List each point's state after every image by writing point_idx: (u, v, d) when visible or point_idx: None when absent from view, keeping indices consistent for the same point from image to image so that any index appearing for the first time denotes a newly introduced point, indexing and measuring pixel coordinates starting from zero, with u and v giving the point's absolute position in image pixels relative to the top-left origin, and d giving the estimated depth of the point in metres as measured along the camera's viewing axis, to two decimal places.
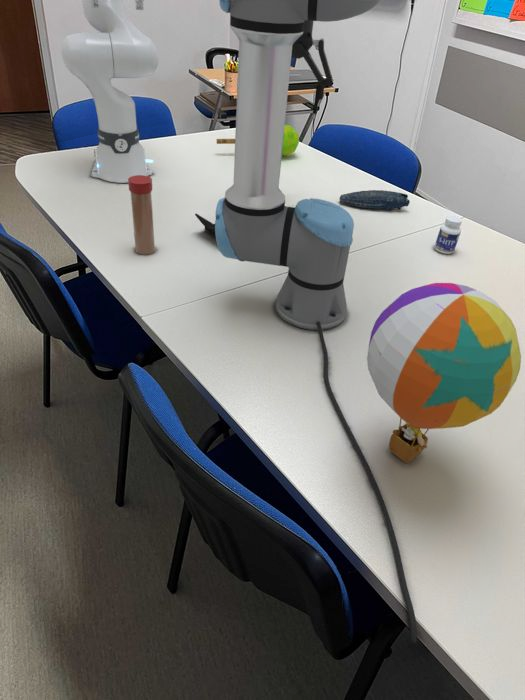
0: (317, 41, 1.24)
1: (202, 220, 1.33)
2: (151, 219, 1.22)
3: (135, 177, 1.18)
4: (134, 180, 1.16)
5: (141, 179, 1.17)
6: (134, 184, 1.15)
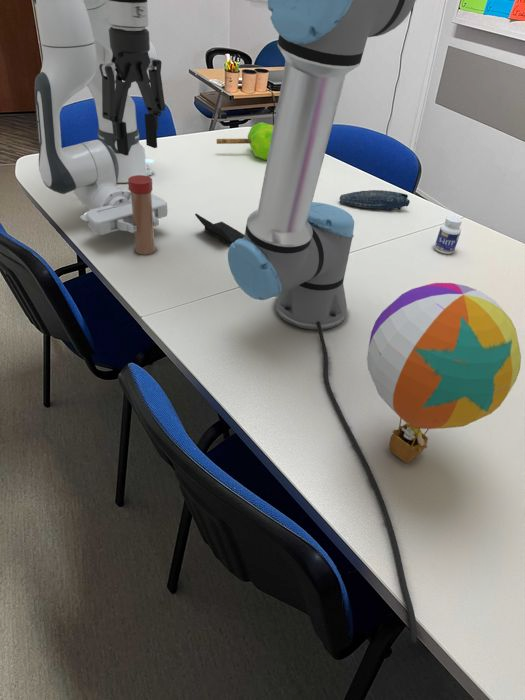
0: None
1: (202, 220, 1.33)
2: (151, 219, 1.22)
3: (135, 177, 1.18)
4: (134, 180, 1.16)
5: (141, 179, 1.17)
6: (134, 184, 1.15)
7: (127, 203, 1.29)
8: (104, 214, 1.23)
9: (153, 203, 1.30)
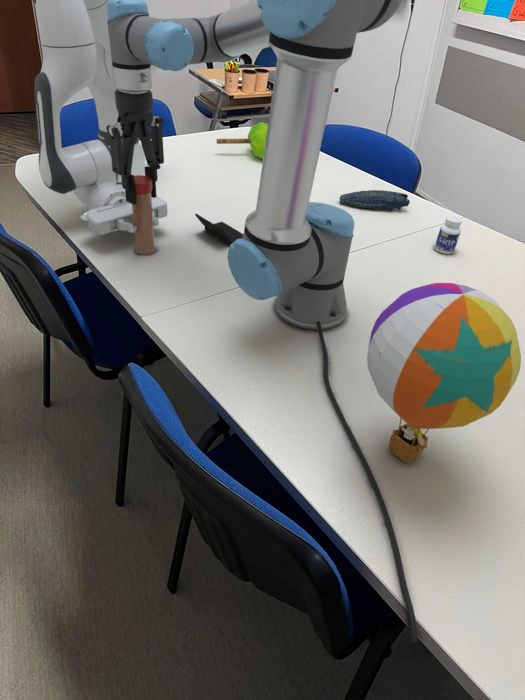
0: None
1: (202, 220, 1.33)
2: (151, 219, 1.22)
3: (135, 177, 1.18)
4: None
5: (141, 179, 1.17)
6: None
7: (127, 203, 1.29)
8: (104, 214, 1.23)
9: (153, 203, 1.30)
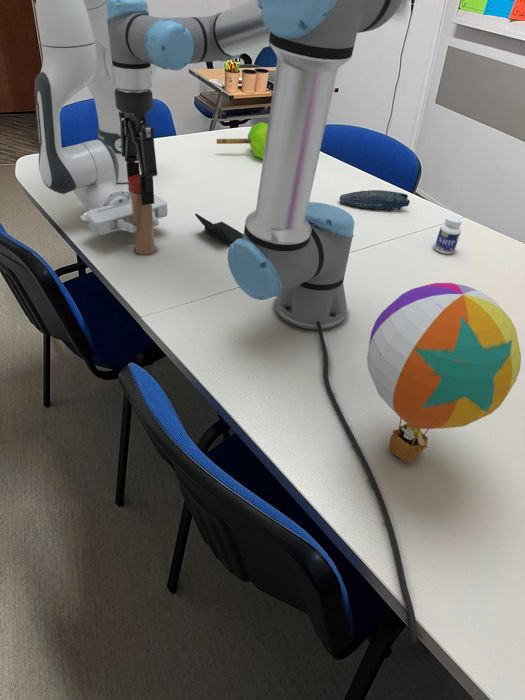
0: (143, 127, 1.06)
1: (202, 220, 1.33)
2: (151, 219, 1.22)
3: (136, 181, 1.16)
4: None
5: (139, 178, 1.17)
6: None
7: (127, 203, 1.29)
8: (104, 214, 1.23)
9: None
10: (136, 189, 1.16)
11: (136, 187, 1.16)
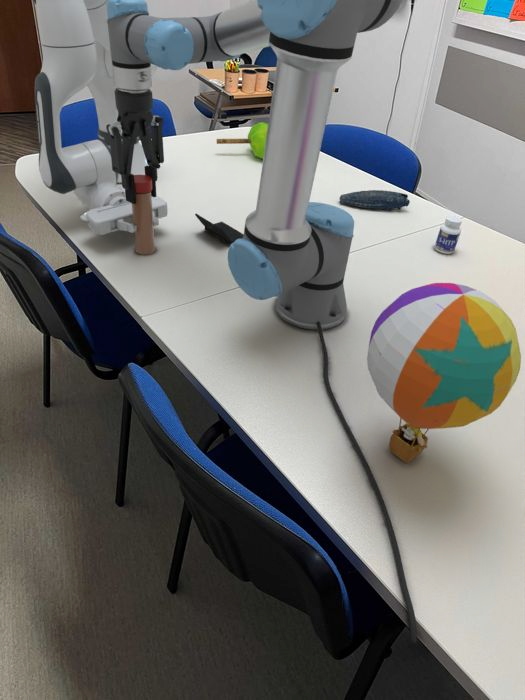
0: None
1: (202, 220, 1.33)
2: (151, 219, 1.22)
3: (136, 181, 1.16)
4: (144, 180, 1.16)
5: (139, 178, 1.17)
6: (151, 180, 1.17)
7: (127, 203, 1.29)
8: (104, 214, 1.23)
9: (153, 203, 1.30)
10: (136, 189, 1.16)
11: (136, 187, 1.16)
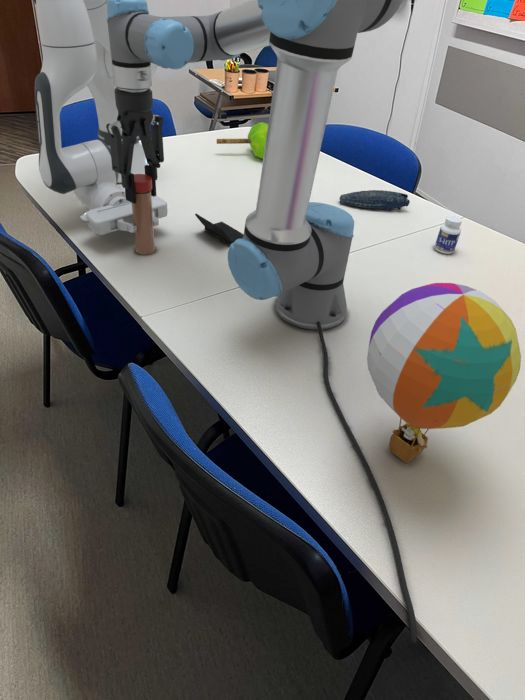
0: None
1: (202, 220, 1.33)
2: (151, 219, 1.22)
3: (146, 178, 1.17)
4: (142, 176, 1.18)
5: (138, 178, 1.17)
6: None
7: (127, 203, 1.29)
8: (104, 214, 1.23)
9: (153, 203, 1.30)
10: None
11: None
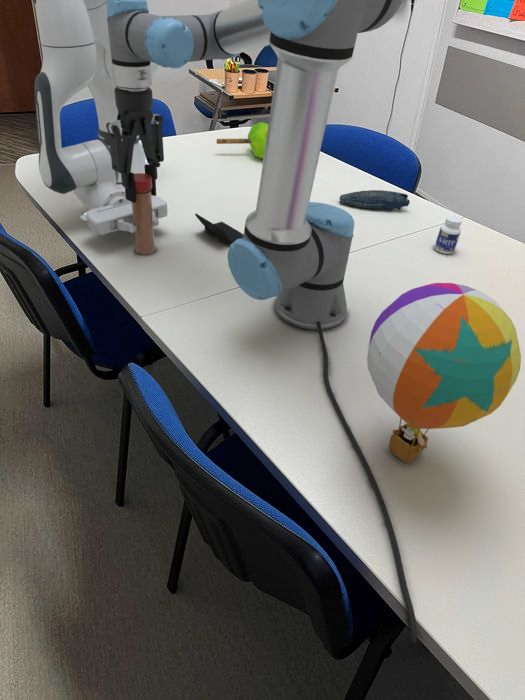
0: None
1: (202, 220, 1.33)
2: (151, 219, 1.22)
3: (139, 174, 1.18)
4: (134, 177, 1.17)
5: (141, 177, 1.17)
6: None
7: (127, 203, 1.29)
8: (104, 214, 1.23)
9: (153, 203, 1.30)
10: None
11: None
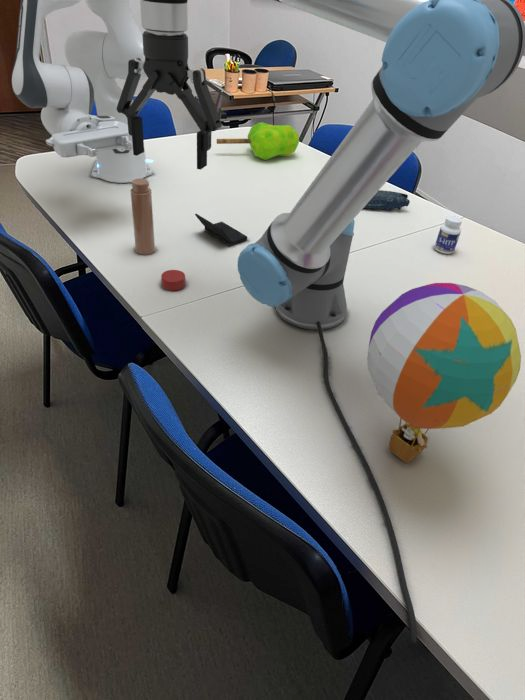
0: (192, 72, 0.88)
1: (202, 220, 1.33)
2: (151, 219, 1.22)
3: (166, 277, 1.15)
4: (174, 278, 1.15)
5: (173, 274, 1.16)
6: (182, 280, 1.15)
7: (95, 129, 1.26)
8: (70, 137, 1.20)
9: (122, 130, 1.27)
10: (164, 285, 1.15)
11: (164, 283, 1.15)
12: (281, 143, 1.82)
